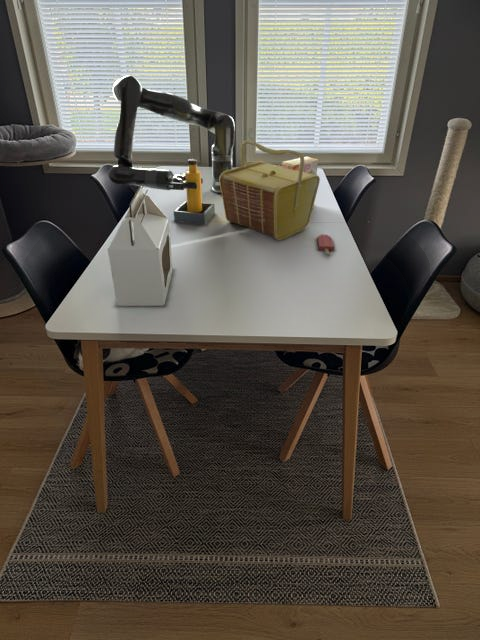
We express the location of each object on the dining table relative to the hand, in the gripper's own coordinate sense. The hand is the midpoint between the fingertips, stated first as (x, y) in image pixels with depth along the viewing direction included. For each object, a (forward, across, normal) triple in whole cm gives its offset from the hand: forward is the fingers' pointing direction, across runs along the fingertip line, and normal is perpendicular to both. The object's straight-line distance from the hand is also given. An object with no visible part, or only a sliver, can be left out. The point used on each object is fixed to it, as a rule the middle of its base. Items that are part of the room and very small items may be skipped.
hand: (199, 183), depth 173 cm
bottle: (-2, 0, +11) cm, 11 cm away
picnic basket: (+27, 0, +14) cm, 31 cm away
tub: (-2, 0, +14) cm, 15 cm away
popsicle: (+51, -12, +14) cm, 55 cm away
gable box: (+3, -57, +14) cm, 58 cm away
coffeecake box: (+35, +25, +15) cm, 45 cm away
